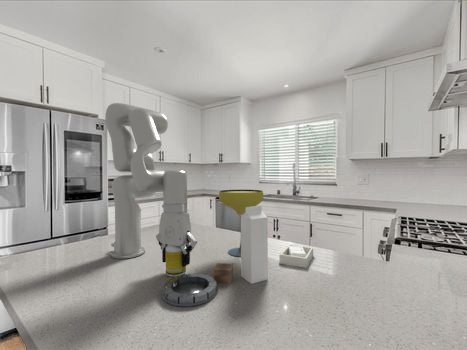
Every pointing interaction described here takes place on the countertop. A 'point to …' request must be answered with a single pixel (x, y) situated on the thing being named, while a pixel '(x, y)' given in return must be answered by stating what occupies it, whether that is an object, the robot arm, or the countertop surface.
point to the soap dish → (296, 261)
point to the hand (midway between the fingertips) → (175, 262)
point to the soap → (297, 251)
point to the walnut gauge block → (223, 273)
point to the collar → (189, 290)
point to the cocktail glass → (240, 205)
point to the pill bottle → (174, 261)
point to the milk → (254, 245)
